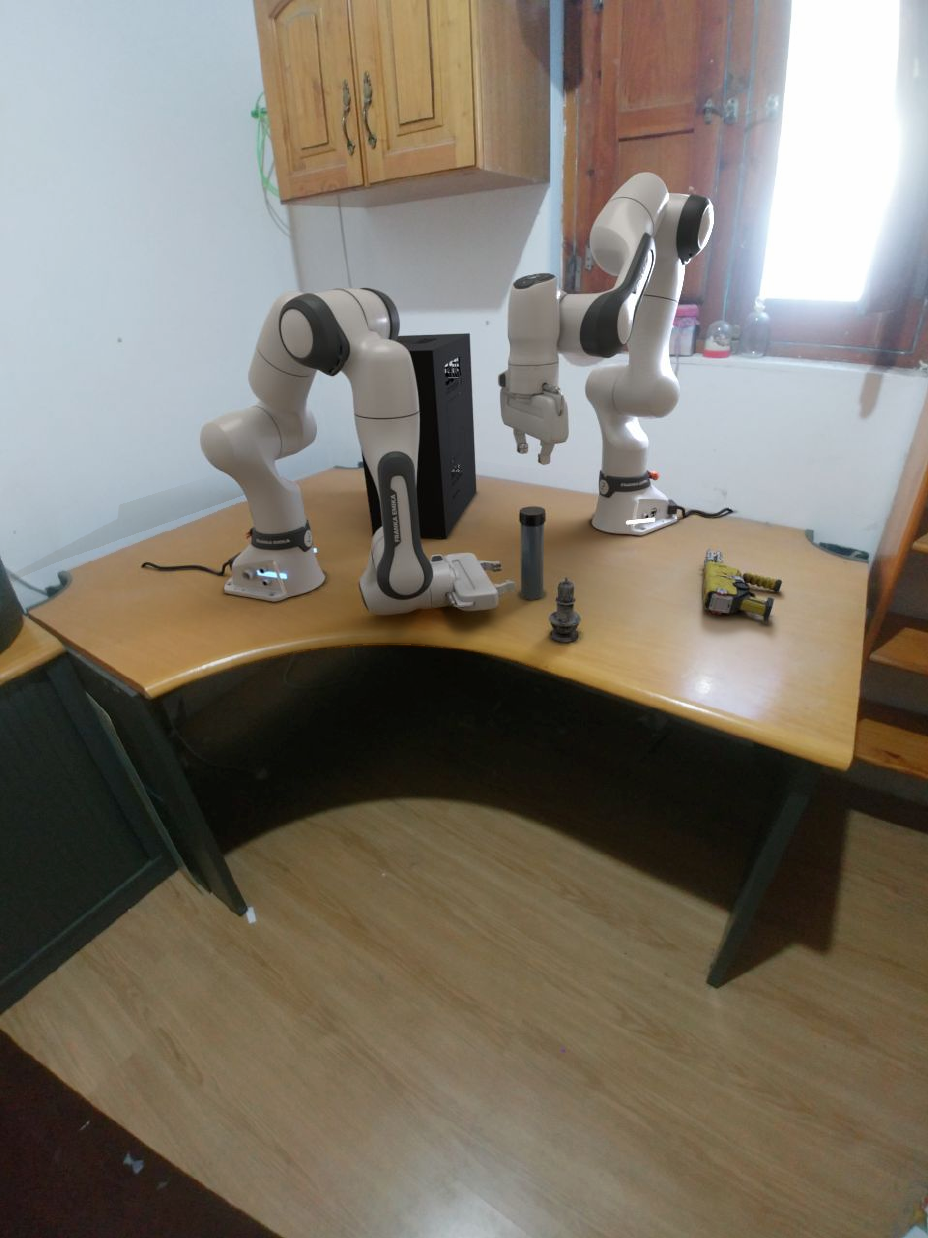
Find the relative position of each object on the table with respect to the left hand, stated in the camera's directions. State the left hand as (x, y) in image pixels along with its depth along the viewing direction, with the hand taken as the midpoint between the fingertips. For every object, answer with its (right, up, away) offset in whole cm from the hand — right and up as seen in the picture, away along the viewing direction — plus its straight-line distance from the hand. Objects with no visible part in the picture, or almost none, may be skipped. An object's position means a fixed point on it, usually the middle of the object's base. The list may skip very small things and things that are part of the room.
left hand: (507, 574), depth 124 cm
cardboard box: (-19, +22, +51) cm, 58 cm away
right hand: (+4, +21, -11) cm, 24 cm away
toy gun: (+48, -4, 0) cm, 48 cm away
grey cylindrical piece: (+6, -4, +4) cm, 8 cm away
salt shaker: (+10, -12, -11) cm, 19 cm away
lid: (+5, +12, -5) cm, 14 cm away
